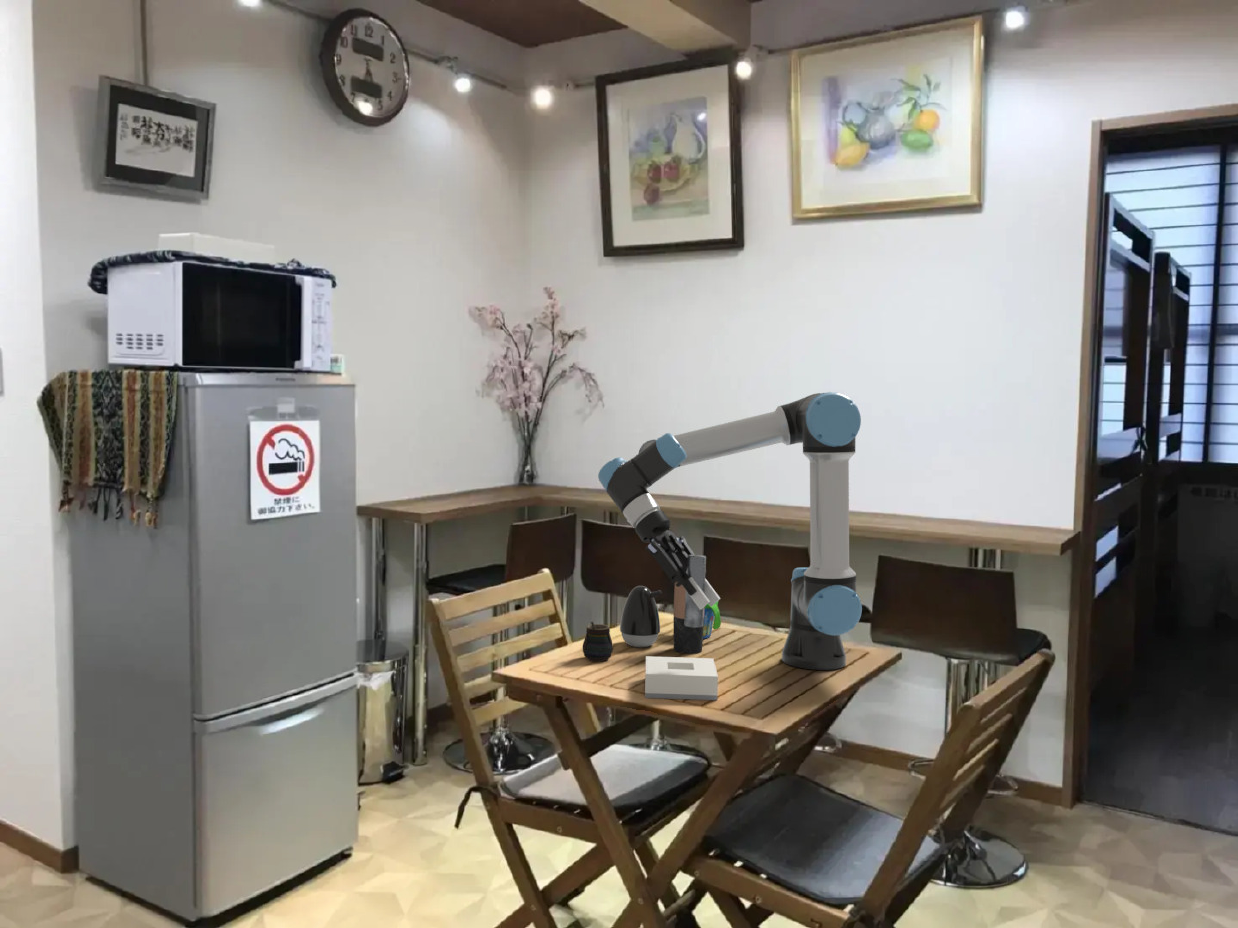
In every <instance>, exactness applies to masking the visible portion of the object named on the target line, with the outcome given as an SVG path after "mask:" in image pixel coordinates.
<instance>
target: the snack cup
mask: <svg viewBox="0 0 1238 928" xmlns="http://www.w3.org/2000/svg"><path fill="white" fill-rule="evenodd" d="M718 604H719V600H718V601H717V602H716V603H715V604H714V605H713V606H710V605H709V604H707V605H706V606H705V607H704V628H703V640H704V639H707V638H709V637H711V635H712V631H713V630H717V629H718V630H719V628H721V624H722V620H721V614H720V609H719V607H718Z"/></svg>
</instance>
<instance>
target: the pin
mask: <svg viewBox="0 0 1238 928" xmlns="http://www.w3.org/2000/svg"><path fill="white" fill-rule="evenodd" d="M706 565H707V556H706V555H703V554H695V555H687V574H688V576H689V578H690V577H692V578H693V579H694V580H695V582H696V583H697V585H698V586H699V587H700V589H701V590H702V591H703V593H704V592H705V578H706V573H705V571H706V572H707V569H706V568H707V566H706ZM689 578H688V579H689ZM703 614H704V608H703V609H701V610H700V609H699V608H698V606H697V605H696V604H695V602H694V601H693V600H692V598H691V597H690V595H689V594H688V593H687V591H686V599H685V621H684V625H685V626H687V627H703Z"/></svg>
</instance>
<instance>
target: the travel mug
mask: <svg viewBox="0 0 1238 928" xmlns="http://www.w3.org/2000/svg"><path fill="white" fill-rule="evenodd" d="M686 573H687V572H686ZM677 583H678V582H676V583H674V590H673V591H674V592H673V593H674V594H673V597H674V598H673V618H672V619H673V652H675V653H676V652H677V653H680V654H687V655H693V654H699V653H702V651H703V643H704V642H703V641H704V639H703V628H704V614H703V627H687V626H685V625H684V621H685V599H686V590H685V589H684V587H683V586H682V585H681V586H679V587H677V586H676V584H677Z"/></svg>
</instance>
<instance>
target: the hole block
mask: <svg viewBox="0 0 1238 928" xmlns="http://www.w3.org/2000/svg"><path fill="white" fill-rule="evenodd" d="M644 677H645V679H644V680H645V682H644V685H645V686H644V698H645V699H667V700H668V699H669V700H671V699H673V700H694V701H695V700H698V701H699V700H700V701H718V691H719V690H718V689H719V688H718V686H719V676H718V671H717V667H716V662H715V659H714V658H707V657H705V658H704V657H683V656H681V657H679V656H677V657H674V656H649V655H648V656H647V655H646V656H645V675H644Z"/></svg>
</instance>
